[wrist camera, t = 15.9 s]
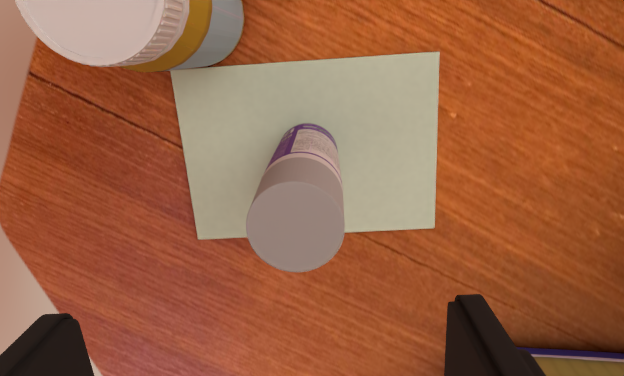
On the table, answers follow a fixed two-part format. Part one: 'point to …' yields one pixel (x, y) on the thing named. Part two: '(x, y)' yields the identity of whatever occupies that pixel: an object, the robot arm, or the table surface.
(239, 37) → the bottle
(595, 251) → the table surface
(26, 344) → the robot arm
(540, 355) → the bread
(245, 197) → the mat
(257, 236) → the container
